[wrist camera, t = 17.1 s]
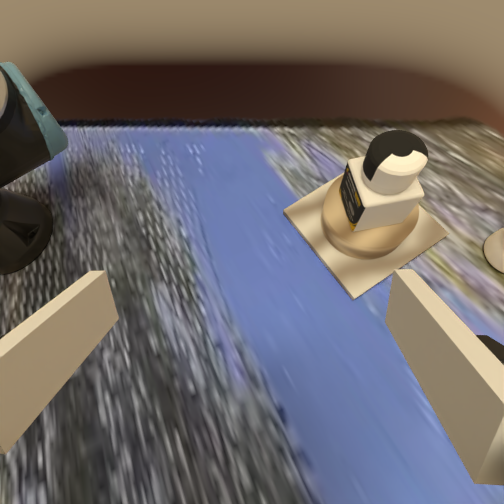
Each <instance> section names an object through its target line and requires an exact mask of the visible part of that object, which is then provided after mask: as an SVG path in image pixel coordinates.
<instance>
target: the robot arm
mask: <svg viewBox="0 0 504 504" xmlns="http://www.w3.org/2000/svg"><path fill="white" fill-rule="evenodd" d="M67 146H68V138H67V136H66V134H65V133H64V131H63V130H62V129H61V127H60V126H59V124H58V123H57V122H56V120H55V119H54V117H53V116H52V115H51V113H50V112H49V110H48V109H47V108H46V106H45V105H44V103H43V102H42V101H41V99H40V98H39V97H38V95H37V94H36V93H35V91H34V90H33V88H32V87H31V86H30V84H29V83H28V82H27V80H26V79H25V77H24V76H23V75H22V74H21V72H20V71H19V69H18V68H17V67H16V66H15V65H14V64H13V63H11V62H5V63H0V275H2V274H8V273H12V272H15V271H17V270H19V269H21V268H23V267H25V266H26V265H28V264H29V263H31V262H32V261H33V260H34V259H35V258H36V257H37V256H38V255H39V254H40V253H41V252H42V250H43V249H44V248H45V246H46V245H47V243H48V241H49V239H50V236H51V233H52V227H53V220H52V216H51V213H50V211H49V210H48V208H47V207H46V206H45V205H43V204H42V203H40V202H39V201H37V200H36V199H34V198H32V197H30V196H27V195H22V194H19V193H16V192H13V191H9V190H6V189H3V188H2V187H3V186H5V185H7V184H9V183H10V182H12V181H14V180H16V179H17V178H19V177H21V176H23V175H25V174H26V173H28V172H30V171H32V170H33V169H35V168H37V167H39V166H40V165H42V164H44V163H46V162H48V161H51V160H52V159H53V158H54V156H56V155H57V154H59V153H60V152H62V151H63V150H65V149H66V148H67ZM118 319H119V317H118V314H117V310H116V307H115V303H114V299H113V296H112V292H111V289H110V285H109V282H108V278H107V275H106V271H89V272H88V273H87V274H85V275H84V276H83V277H82V278H80V279H79V280H78V281H76V282H75V283H74V284H72V285H71V286H70V287H68V288H67V289H66V290H64V291H63V292H62V293H60V294H59V295H58V296H57V297H55V298H54V299H53V300H51V301H50V302H49V303H47V304H46V305H45V306H43V307H42V308H41V309H39V310H38V311H37V312H35V313H34V314H33V315H32V316H30V317H29V318H28V319H26V320H25V321H24V322H22V323H21V324H20V325H18V326H17V327H16V328H14V329H13V330H12V331H10V332H9V333H7V334H5V335H3V336H1V337H0V454H6V453H7V452H8V451H9V450H10V449H11V447H12V446H13V445H14V444H15V443H16V441H17V440H18V439H19V438H20V437H21V435H22V434H23V433H24V432H25V431H26V429H27V428H28V427H29V426H30V425H31V423H32V422H33V421H34V420H35V419H36V417H37V416H38V415H39V414H40V413H41V411H42V410H43V409H44V408H45V407H46V405H47V404H48V403H49V402H50V401H51V399H52V398H53V397H54V396H55V395H56V393H57V392H58V391H59V390H60V389H61V387H62V386H63V385H64V384H65V383H66V382H67V380H68V379H69V378H70V377H71V376H72V374H73V373H74V372H75V371H76V370H77V368H78V367H79V366H80V365H81V364H82V362H83V361H84V360H85V359H86V358H87V356H88V355H89V354H90V353H91V352H92V350H93V349H94V348H95V347H96V346H97V344H98V343H99V342H100V341H101V340H102V338H103V337H104V336H105V335H106V334H107V332H108V331H109V330H110V329H111V328H112V326H113V325H114V324H115V323H116V322H117V320H118ZM385 323H386V325H387V326H388V328H389V330H390V332H391V334H392V335H393V337H394V339H395V341H396V343H397V344H398V346H399V348H400V350H401V352H402V353H403V355H404V357H405V359H406V361H407V363H408V364H409V366H410V368H411V370H412V372H413V373H414V375H415V377H416V379H417V381H418V382H419V384H420V386H421V388H422V390H423V392H424V393H425V395H426V397H427V399H428V401H429V402H430V404H431V406H432V408H433V410H434V411H435V413H436V415H437V417H438V419H439V420H440V422H441V424H442V426H443V428H444V430H445V431H446V433H447V435H448V437H449V439H450V440H451V442H452V444H453V446H454V448H455V449H456V451H457V453H458V455H459V457H460V459H461V460H462V462H463V464H464V466H465V468H466V469H467V471H468V473H469V475H470V477H471V478H472V480H473V482H474V484H490V485H504V346H503V345H502V344H500V343H498V342H497V341H495V340H494V339H492V338H490V337H489V336H487V335H475V334H474V333H473V332H472V331H471V330H470V329H469V328H468V327H467V326H466V325H465V324H464V323H463V322H462V321H461V320H460V319H459V318H458V317H457V316H456V314H455V313H454V312H453V311H452V310H451V309H450V308H449V307H448V306H447V305H446V304H445V303H444V302H443V301H442V300H441V299H440V298H439V297H438V296H437V295H436V293H435V292H434V291H433V290H432V289H431V288H430V287H429V286H428V285H427V284H426V283H425V282H424V281H423V280H422V279H421V278H420V277H419V276H418V275H417V274H416V272H415V271H414V270H413V269H394V272H393V278H392V284H391V290H390V296H389V302H388V308H387V314H386V320H385Z"/></svg>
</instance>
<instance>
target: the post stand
mask: <svg viewBox="0 0 504 504" xmlns="http://www.w3.org/2000/svg"><path fill="white" fill-rule="evenodd" d="M343 175H344V173H342V174H341V175H339V176H338V177H336V178H334V179H333V180H331V181H329V182H328V183H326V184H325V185H323V186H321V187H320V188H318V189H317V190H315V191H313V192H312V193H310V194H308V195H307V196H305V197H304V198H302V199H300V200H299V201H297V202H295V203H294V204H292V205H291V206H289V207H287V208H286V209H284V210H283V214H284V215H285V216H286V218H287V219H288V220H289V221H290V223H291V224H292V225H293V226H294V228H295V229H296V230H297V231H298V233H299V234H300V235H301V236H302V238H303V239H304V240H305V241H306V243H307V244H308V245H309V246H310V248H311V249H312V250H313V251H314V253H315V254H316V255H317V256H318V258H319V259H320V260H321V261H322V263H323V264H324V265H325V266H326V268H327V269H328V270H329V271H330V273H331V274H332V275H333V276H334V278H335V279H336V280H337V281H338V283H339V284H340V285H341V286H342V288H343V289H344V290H345V291H346V293H347V294H348V295H349V296H350V298H351V299H352V300H354V299H356V298H357V297H358V296H360V295H361V294H363V293H364V292H366V291H367V290H369V289H370V288H372V287H373V286H375V285H376V284H377V283H379V282H380V281H382V280H383V279H385V278H386V277H388V276H389V275H391V274H392V273H393V272H394V269H399V268H401V267H402V266H404V265H405V264H407V263H408V262H410V261H411V260H412V259H414V258H415V257H417V256H418V255H420V254H421V253H423V252H424V251H426V250H427V249H428V248H430V247H431V246H433V245H434V244H436V243H437V242H439V241H440V240H442V239H443V238H444V237H446V236H447V235H448V234H449V233H448V232H447V231H446V230H445V229H444V228H443V227H442V226H441V225H440V224H439V223H438V222H436V221H435V220H434V219H433V218H432V217H431V216H430V215H429V214H428V213H427V212H426V211H425V210H424V209H423V208H422V207H421V206H420V205H418V204H417V205H416V206H415V207H414V209H413V210H412V211H411V212H410V214H409V215H408V216H407V217H406V218H405V220H404V221H403V222H402V223H398V224H393V225H388V226H382V227H377V228H372V229H366V230H361V231H356V232H353V231H352V230H351V227H350V224H349V221H348V218H347V215H346V212H345V209H344V206H343V203H342V200H341V197H340V194H339V188H340V185H341V182H342V178H343Z"/></svg>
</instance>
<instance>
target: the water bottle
mask: <svg viewBox="0 0 504 504" xmlns="http://www.w3.org/2000/svg"><path fill="white" fill-rule="evenodd" d="M484 254H485V256H486V258H487V260H488V262H489V263H490V264H491V265H492V266H493V267H494V268H496V269H497V270H499V271H500V272H502V273H504V228H502V229H500V230H498V231H496V232H495V233H493V234H492V235H490V236H489V237H488V238H487V240H486V241H485V244H484Z"/></svg>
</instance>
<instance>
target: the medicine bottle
mask: <svg viewBox="0 0 504 504" xmlns="http://www.w3.org/2000/svg"><path fill="white" fill-rule="evenodd" d="M427 160H428V150H427V148H426V146H425V144H424V142H423V141H422V140H421V139H420V138H419V137H417V136H416V135H414V134H412V133H410V132H407V131H402V130H392V131H387V132H384V133H382V134H380V135H378V136H376V137H375V138H374V139H373V140H372V142H371V143H370V146H369V148H368V151H367V153H366V156H364V157H359V158H354V159H350V160H349V161H348V162H347V166H346V169H345V172H344V175H343V178H342V182H341V185H340V188H339V194H340V197H341V200H342V203H343V206H344V209H345V212H346V215H347V218H348V221H349V224H350V227H351V230H352V231H353V232H356V231H361V230H366V229H372V228H377V227H382V226H388V225H393V224H398V223H402V222H403V221H404V220H405V218H406V217H407V216H408V215H409V214H410V212H411V211H412V210H413V209H414V207H415V206H416V205H417V204H418V203H419V201H420V200H421V199H422V198H423V197H424V192H423V190H422V187H421V185H420V183H419V181H418V179H417V176H418V174H419V173H420V172H421V170H422V169H423V167H424V166H425V164H426V163H427Z"/></svg>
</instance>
